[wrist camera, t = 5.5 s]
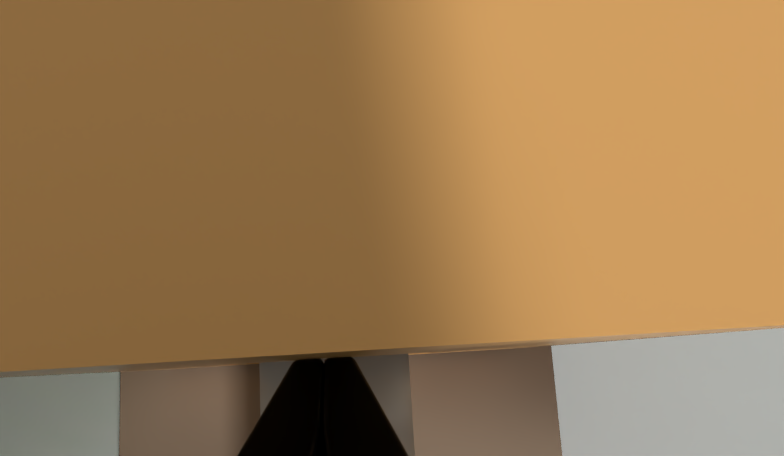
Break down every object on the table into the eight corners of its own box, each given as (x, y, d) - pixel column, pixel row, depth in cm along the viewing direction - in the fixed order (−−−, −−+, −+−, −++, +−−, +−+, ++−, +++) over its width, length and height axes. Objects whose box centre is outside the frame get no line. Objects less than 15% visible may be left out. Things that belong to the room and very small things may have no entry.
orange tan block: (511, 348, 16) (928, 315, 4) (161, 369, 15) (-457, 398, 4) (496, 181, 16) (814, -234, 5) (161, 197, 16) (-349, -223, 4)
